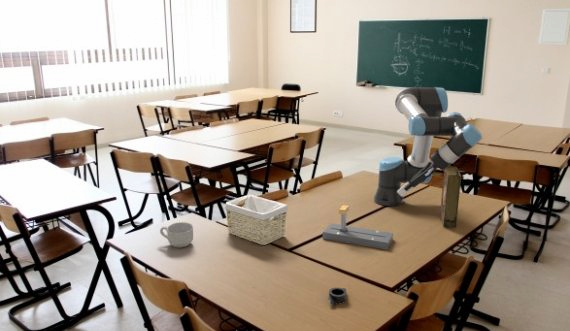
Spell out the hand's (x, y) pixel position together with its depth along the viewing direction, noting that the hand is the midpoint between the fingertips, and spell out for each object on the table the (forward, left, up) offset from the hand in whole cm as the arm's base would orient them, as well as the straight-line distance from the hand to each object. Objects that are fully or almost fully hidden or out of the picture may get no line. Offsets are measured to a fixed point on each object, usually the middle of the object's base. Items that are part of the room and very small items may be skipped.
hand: (399, 193), depth 194 cm
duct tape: (+34, -40, -23) cm, 57 cm away
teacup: (-24, -89, -23) cm, 95 cm away
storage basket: (-25, -55, -23) cm, 64 cm away
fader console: (-9, -14, -22) cm, 28 cm away
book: (-17, +36, -23) cm, 46 cm away
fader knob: (-13, -19, -19) cm, 30 cm away
